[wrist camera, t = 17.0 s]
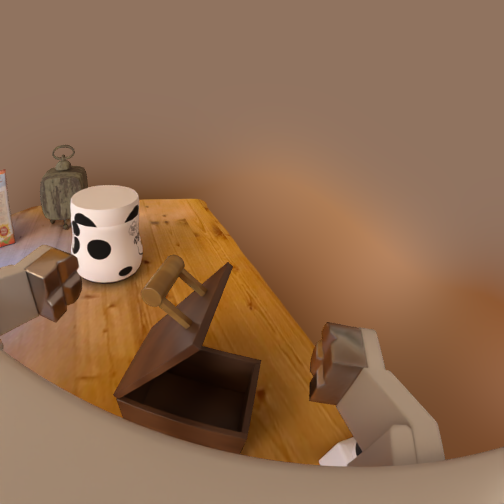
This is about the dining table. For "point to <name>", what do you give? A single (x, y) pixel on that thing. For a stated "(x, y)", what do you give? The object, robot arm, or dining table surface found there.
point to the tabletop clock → (61, 188)
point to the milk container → (106, 233)
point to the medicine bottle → (341, 453)
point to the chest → (199, 400)
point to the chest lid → (174, 322)
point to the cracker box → (5, 213)
